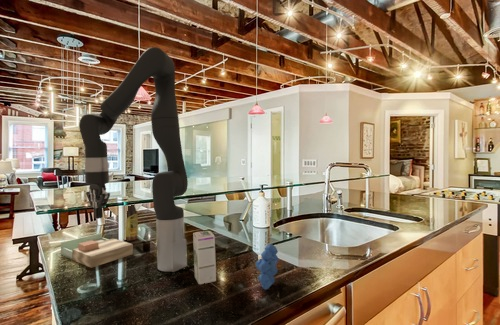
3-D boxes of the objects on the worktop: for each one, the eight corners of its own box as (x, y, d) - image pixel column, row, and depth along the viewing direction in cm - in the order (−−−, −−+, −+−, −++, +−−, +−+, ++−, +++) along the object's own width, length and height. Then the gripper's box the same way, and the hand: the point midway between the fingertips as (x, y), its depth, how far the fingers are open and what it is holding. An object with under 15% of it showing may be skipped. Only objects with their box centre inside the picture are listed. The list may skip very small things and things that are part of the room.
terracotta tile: (98, 247, 108) (98, 242, 108) (84, 251, 104) (84, 245, 104) (92, 245, 111) (91, 240, 111) (78, 248, 107) (78, 243, 107)
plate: (133, 254, 112) (132, 244, 112) (91, 267, 99) (90, 256, 99) (113, 247, 120) (113, 238, 120) (72, 259, 107) (72, 249, 107)
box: (113, 247, 120) (113, 236, 120) (72, 259, 107) (71, 246, 107) (101, 243, 125) (101, 232, 125) (61, 254, 112) (60, 242, 112)
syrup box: (216, 281, 87) (215, 234, 86) (197, 285, 84) (196, 236, 84) (211, 274, 92) (210, 229, 91) (193, 277, 89) (192, 232, 89)
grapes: (262, 275, 90) (261, 238, 90) (282, 278, 87) (282, 240, 87) (247, 292, 79) (247, 249, 79) (270, 296, 77) (270, 252, 76)
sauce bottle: (132, 241, 128) (131, 198, 127) (120, 241, 129) (118, 197, 128) (140, 237, 134) (139, 195, 134) (129, 237, 135) (127, 195, 135)
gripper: (116, 170, 101) (118, 218, 102) (98, 169, 109) (99, 214, 110) (95, 171, 95) (97, 222, 96) (77, 170, 103) (78, 217, 103)
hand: (98, 217), depth 103 cm, fingers closed
